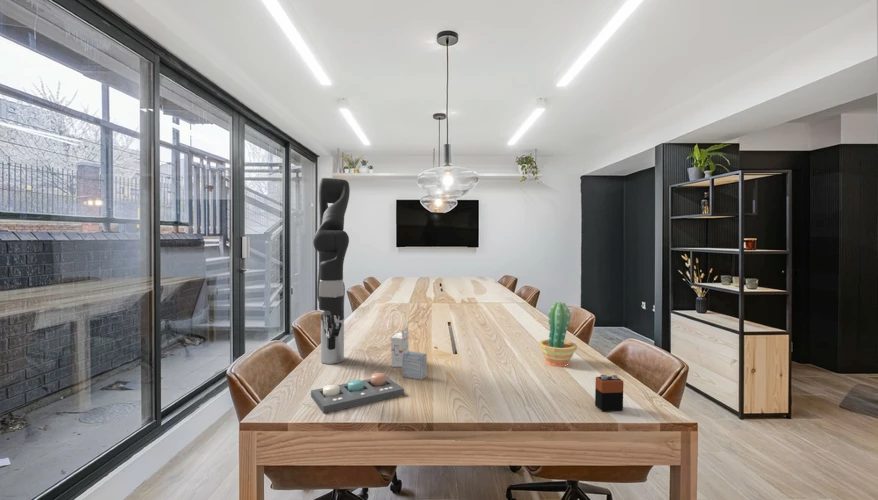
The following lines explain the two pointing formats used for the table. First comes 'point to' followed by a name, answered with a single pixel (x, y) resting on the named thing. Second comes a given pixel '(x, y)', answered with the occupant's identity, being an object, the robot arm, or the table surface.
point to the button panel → (356, 395)
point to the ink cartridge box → (399, 348)
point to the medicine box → (414, 365)
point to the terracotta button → (378, 379)
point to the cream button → (331, 390)
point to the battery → (609, 393)
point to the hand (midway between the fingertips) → (331, 349)
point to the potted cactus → (558, 336)
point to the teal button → (355, 385)
